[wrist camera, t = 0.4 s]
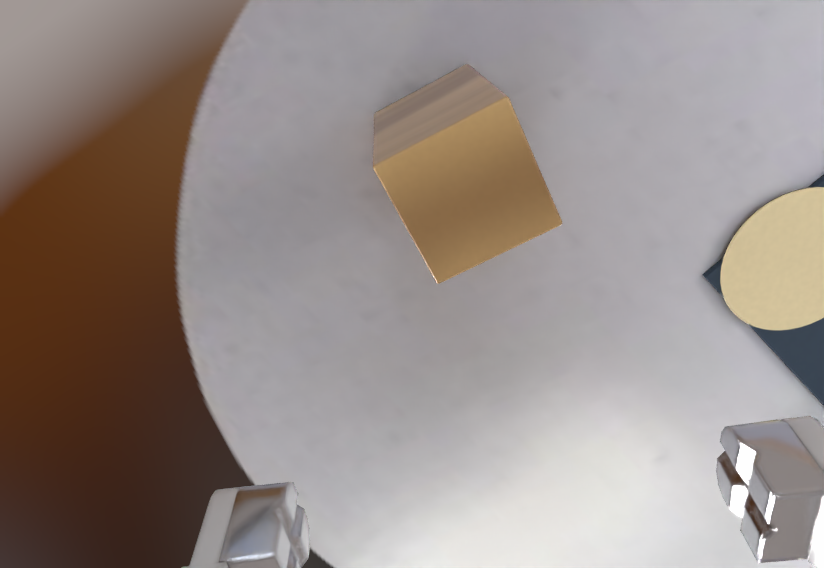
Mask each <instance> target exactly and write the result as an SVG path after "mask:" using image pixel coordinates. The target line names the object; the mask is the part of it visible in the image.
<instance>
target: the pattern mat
mask: <svg viewBox="0 0 824 568" xmlns="http://www.w3.org/2000/svg"><path fill="white" fill-rule="evenodd" d="M703 276H704V277H705V278H706V279H707V280H708V281H709V282H710V283H711V284H712V286H713V287H714V288H715V289H716V290H717V291H718V292H719V293H720V294H721V295H722V296H723V297H724V299H725V301H726V303H727V305H728V307H729V308H730V309H731V311H732V312H733V313H734V314H735V315H736V316H737V317H738V318H739V319H741V320H742V321H744V322H746V323H747V324H749V325H750V326H751V328H752V329H753V330H754V331H755V332H756V333H757V334H758V335H759V336H760V337H761V338H762V339H763V340H764V342H765V343H766V344H767V345H768V346H769V347H770V348H771V349H772V350H773V351H774V352H775V353H776V354H777V356H778V357H779V358H780V359H781V360H782V361H783V362H784V363H785V364H786V365H787V366H788V367H789V368H790V370H791V371H792V372H793V373H794V374H795V375H796V376H797V377H798V378H799V379H800V380H801V381H802V382H803V384H804V385H805V386H806V387H807V388H808V389H809V390H810V391H811V392H812V393H813V394H814V395H815V396H816V398H817V399H818V400H819V401H820V402H821V403H822V404H823V405H824V175H823V176H822V177H821V178H819V179H818V180H817V181H816V182H815V183H813V184H812V185H811V186H810V187H808V188H805V189H800V190H796V191H793V192H790V193H787V194H784V195H782V196H780V197H778V198H776V199H774V200H772V201H770V202H769V203H767V204H765V205H764V206H763V207H761V208H760V209H759V210H757V211H756V212H755V213H754V214H753V215H752V216H750V217H749V218H748V219H747V220H746V221H745V223H744V224H743V225H742V226H741V227H740V228H739V230H738V231H737V232H736V234H735V235H734V237H733V238H732V240H731V242H730V244H729V246H728V248H727V250H726V253H725V255H724V258H722V259H721V260H720V261H719V262H717V263H716V264H715V265H714V266H713V267H711V268H710V269H709V270H708V271H707V272H705V273H704V274H703Z"/></svg>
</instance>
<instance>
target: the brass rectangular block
mask: <svg viewBox="0 0 824 568" xmlns="http://www.w3.org/2000/svg"><path fill="white" fill-rule="evenodd" d="M373 169H374V171H375V172H376V174H377V176H378V178H379V180H380V182H381V183H382V185H383V187H384V189H385V191H386V192H387V194H388V196H389V198H390V200H391V201H392V203H393V205H394V207H395V209H396V211H397V212H398V214H399V216H400V218H401V220H402V221H403V223H404V225H405V227H406V229H407V231H408V232H409V234H410V236H411V238H412V240H413V241H414V243H415V245H416V247H417V249H418V250H419V252H420V254H421V256H422V258H423V260H424V261H425V263H426V265H427V267H428V269H429V270H430V272H431V274H432V276H433V278H434V280H435V281H436V283H437V284H439V283H441V282H444V281H446V280H448V279H450V278H452V277H454V276H456V275H458V274H460V273H462V272H464V271H466V270H468V269H471V268H473V267H475V266H477V265H479V264H481V263H483V262H485V261H487V260H489V259H491V258H493V257H495V256H498V255H500V254H502V253H504V252H506V251H508V250H510V249H512V248H514V247H516V246H518V245H520V244H522V243H525V242H527V241H529V240H531V239H533V238H535V237H537V236H539V235H541V234H543V233H545V232H547V231H549V230H552V229H554V228H556V227H558V226H560V225H561V224H562V220H561V218H560V216H559V213H558V211H557V209H556V206H555V204H554V202H553V199H552V197H551V195H550V192H549V190H548V188H547V185H546V183H545V181H544V178H543V176H542V174H541V171H540V169H539V167H538V164H537V162H536V160H535V157H534V155H533V153H532V150H531V148H530V146H529V144H528V141H527V139H526V137H525V134H524V132H523V130H522V127H521V125H520V123H519V120H518V118H517V116H516V113H515V111H514V109H513V106H512V104H511V102H510V99H509V97H508V96H506V95H505V94H504V93H503V92H502V91H500V90H499V89H498V88H497V87H495V86H494V85H493V84H492V83H491V82H489V81H488V80H487V79H486V78H484V77H483V76H482V75H481V74H480V73H478V72H477V71H476V70H475V69H473V68H472V67H471V66H470V65H469V64H465V65H463V66H462V67H460V68H458V69H456V70H454V71H452V72H450V73H448V74H447V75H445V76H443V77H441V78H439V79H437V80H435V81H434V82H432V83H430V84H428V85H426V86H424V87H422V88H421V89H419V90H417V91H415V92H413V93H411V94H409V95H408V96H406V97H404V98H402V99H400V100H398V101H396V102H394V103H393V104H391V105H389V106H387V107H385V108H383V109H381V110H380V111H378V112H376V113H375V114H374V145H373Z"/></svg>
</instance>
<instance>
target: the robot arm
mask: <svg viewBox="0 0 824 568" xmlns="http://www.w3.org/2000/svg"><path fill="white" fill-rule="evenodd" d="M720 442H721V444H722V446H723V448H724V449H725V451H724V452H723V453H722V454H721V455H720V456H719V457H718V458H717V468H716V473H717V479H718V485H719V488H720V491H721V494H722V496H723V499H724V500H725V502H726V504H727V506H728V508H729V509H730V510H731V511H733V512H734V513H736V514H737V515H739V516H740V517H742V523H741V529H740V531H741V533H742V534H743V536H744V538H745V540H746V542H747V544H748V545H749V547H750V549H751V551H752V553H753V555H754V556H755V558H756V560H757V562H758V563H764V562H775V561H787V560H799V559H808V562H809V563H811V564H812V565H813V566H814V567H816V568H824V428H823V427H822V426H821V425H820V423H819V422H818V421H817V420H816V419H815V418H813V417H811V416H804V417H796V418H789V419H781V420H771V421H764V422H756V423H749V424H742V425H735V426H727V427H725V428H724V429H723V430H722V432H721V438H720ZM297 500H298V492H297V489H296V487H295V485H294V483H293V482H287V483H276V484H266V485H256V486H246V487H239V488H230V489H221V490H216V491H215V492H214V493H213V495H212V496H211V498H210V502H209V504H208V507H207V511H206V514H205V517H204V520H203V524H202V527H201V530H200V534H199V536H198V540H197V543H196V546H195V549H194V553H193V556H192V559H191V562H190V566H186V567H182V568H301V567H302V566H303V564H304V563H305V562H306V560H307V559H308V557H309V548H310V530H309V524H308V518H307V515H306V512H305V510H304V508H302V507H300V506H299V505H297Z"/></svg>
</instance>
